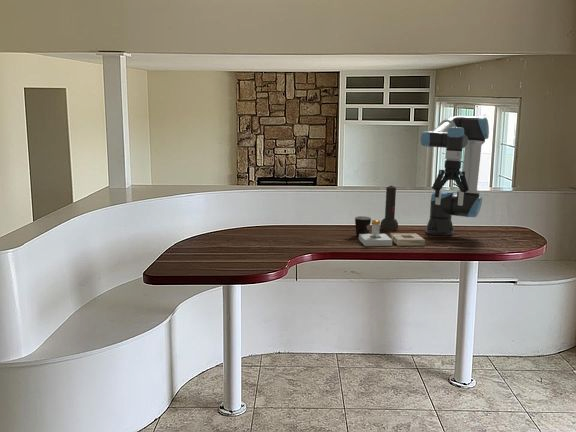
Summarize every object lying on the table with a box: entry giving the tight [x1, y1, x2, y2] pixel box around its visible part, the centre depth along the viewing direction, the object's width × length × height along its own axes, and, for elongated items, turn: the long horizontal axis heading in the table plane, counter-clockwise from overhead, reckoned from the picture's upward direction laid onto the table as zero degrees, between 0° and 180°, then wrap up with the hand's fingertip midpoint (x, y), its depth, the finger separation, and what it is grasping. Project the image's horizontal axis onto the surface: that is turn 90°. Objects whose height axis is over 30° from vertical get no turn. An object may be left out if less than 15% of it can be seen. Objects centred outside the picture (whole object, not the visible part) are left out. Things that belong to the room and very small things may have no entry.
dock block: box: [389, 232, 426, 247], centre depth 330 cm, size 14×14×3 cm
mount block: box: [358, 233, 393, 247], centre depth 328 cm, size 14×14×3 cm
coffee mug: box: [354, 215, 372, 238], centre depth 341 cm, size 12×9×10 cm
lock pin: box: [371, 219, 381, 238], centre depth 327 cm, size 4×4×12 cm
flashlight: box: [380, 185, 399, 232], centre depth 358 cm, size 10×25×10 cm
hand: (448, 205), depth 302 cm, fingers open, 13 cm apart
